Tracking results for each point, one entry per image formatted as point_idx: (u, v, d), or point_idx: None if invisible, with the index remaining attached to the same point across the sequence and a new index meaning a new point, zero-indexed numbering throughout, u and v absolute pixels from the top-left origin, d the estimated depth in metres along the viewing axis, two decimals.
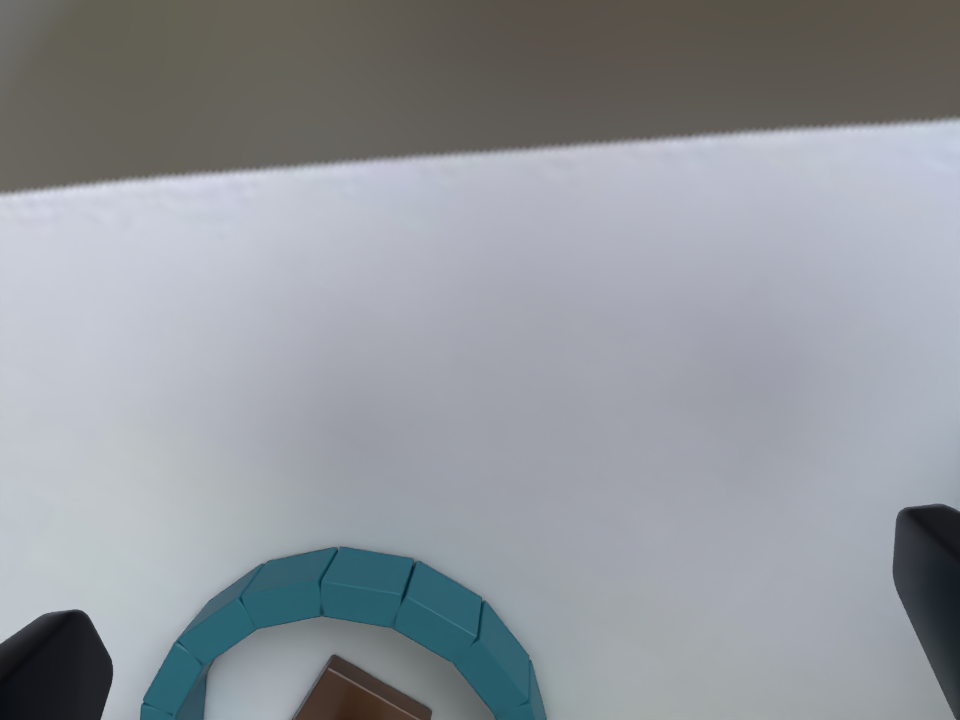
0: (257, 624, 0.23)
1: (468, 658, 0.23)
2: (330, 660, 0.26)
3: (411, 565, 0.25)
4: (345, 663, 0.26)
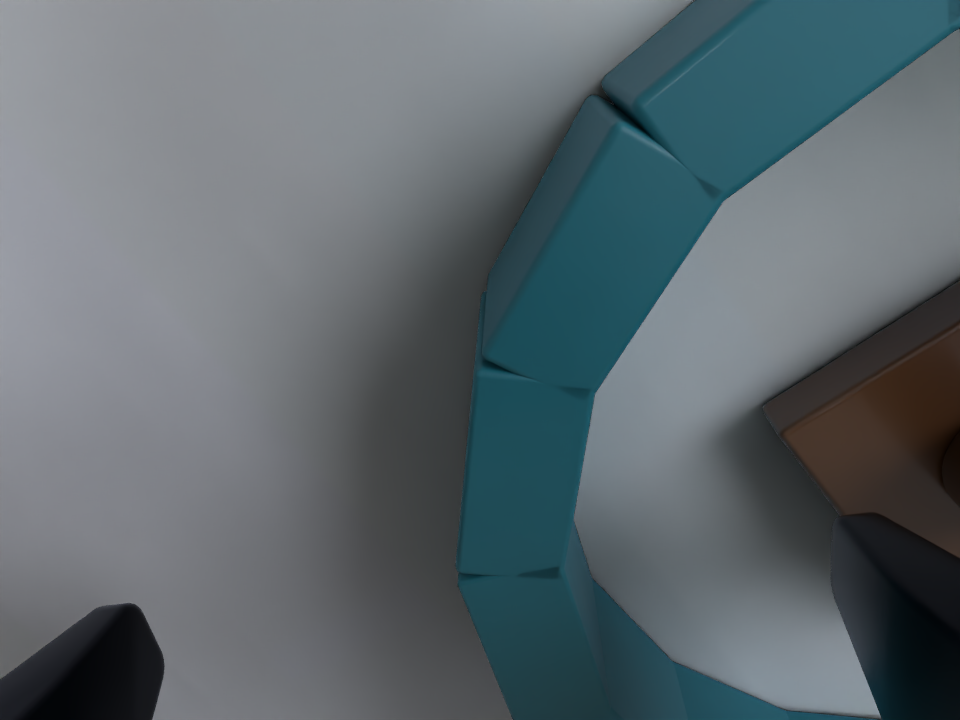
0: None
1: None
2: None
3: None
4: None
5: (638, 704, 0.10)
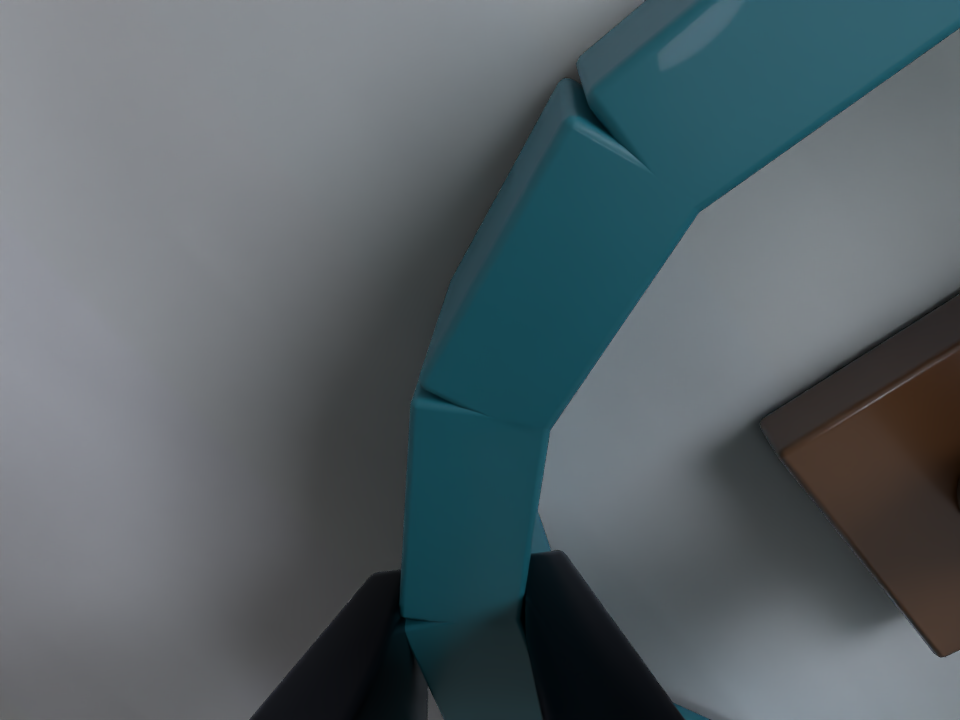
0: None
1: None
2: None
3: None
4: None
5: None
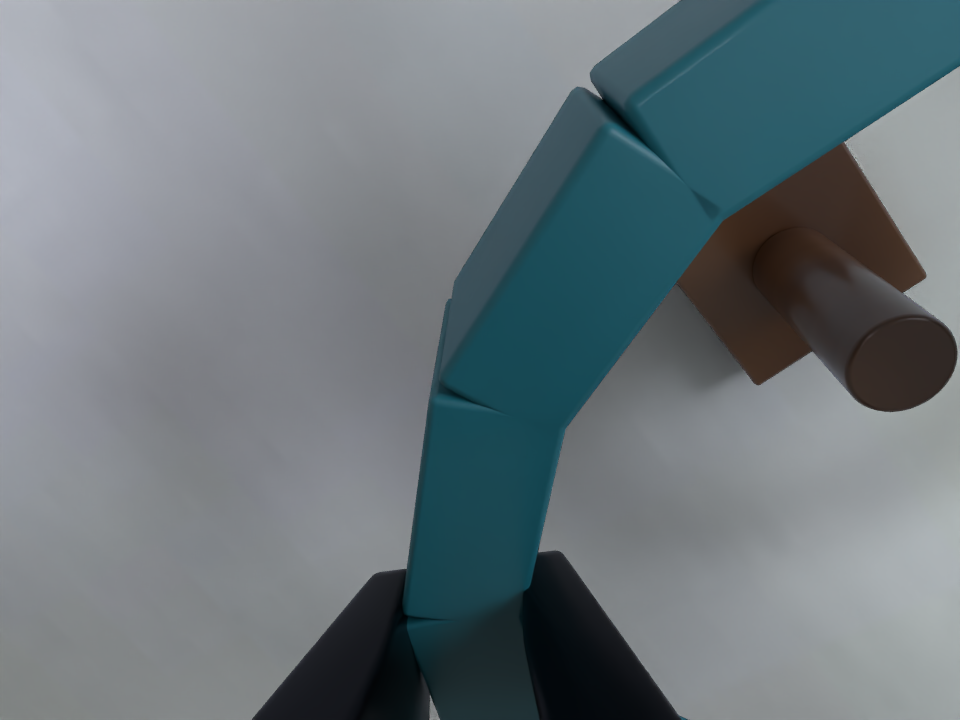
0: None
1: None
2: None
3: None
4: None
5: None
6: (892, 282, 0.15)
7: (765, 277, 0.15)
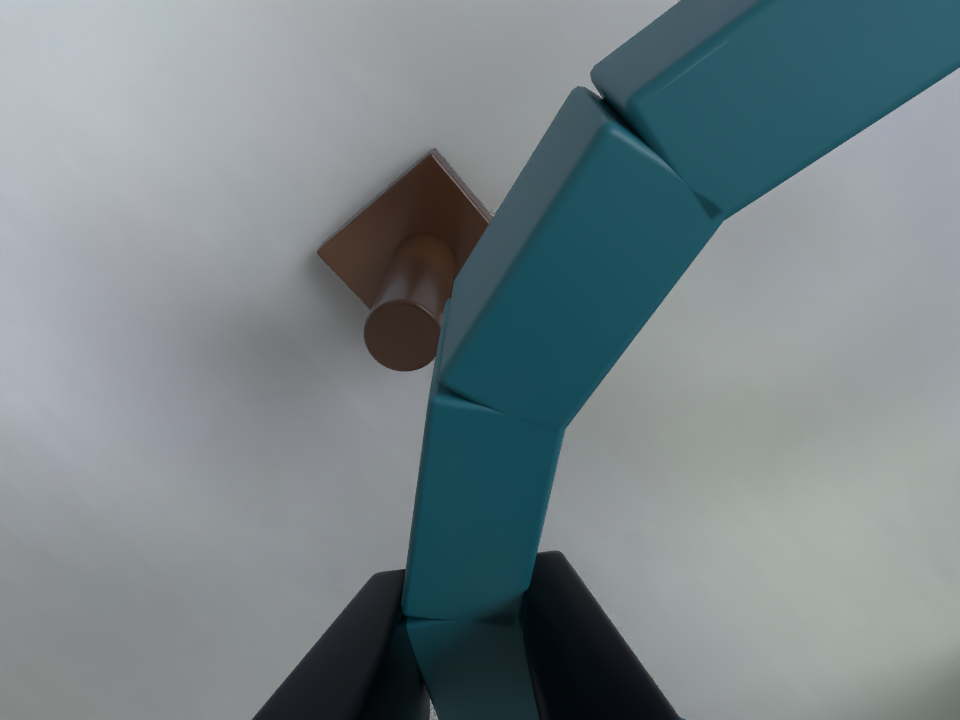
0: None
1: None
2: (432, 150, 0.19)
3: None
4: (448, 164, 0.19)
5: None
6: None
7: None
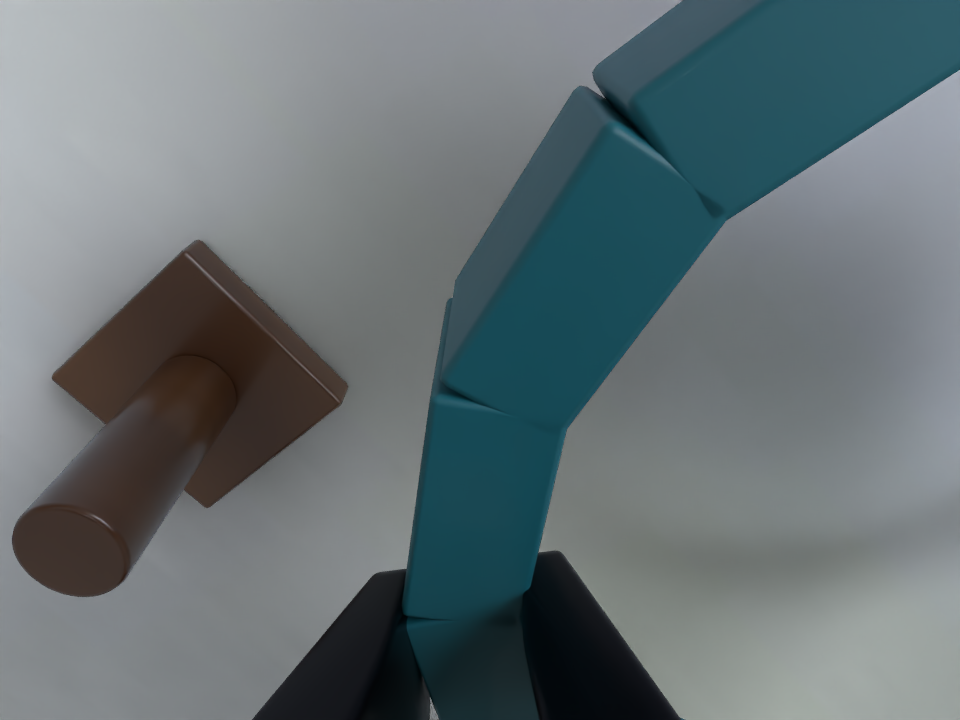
0: None
1: None
2: (192, 245, 0.14)
3: None
4: (219, 261, 0.14)
5: None
6: (306, 409, 0.15)
7: None
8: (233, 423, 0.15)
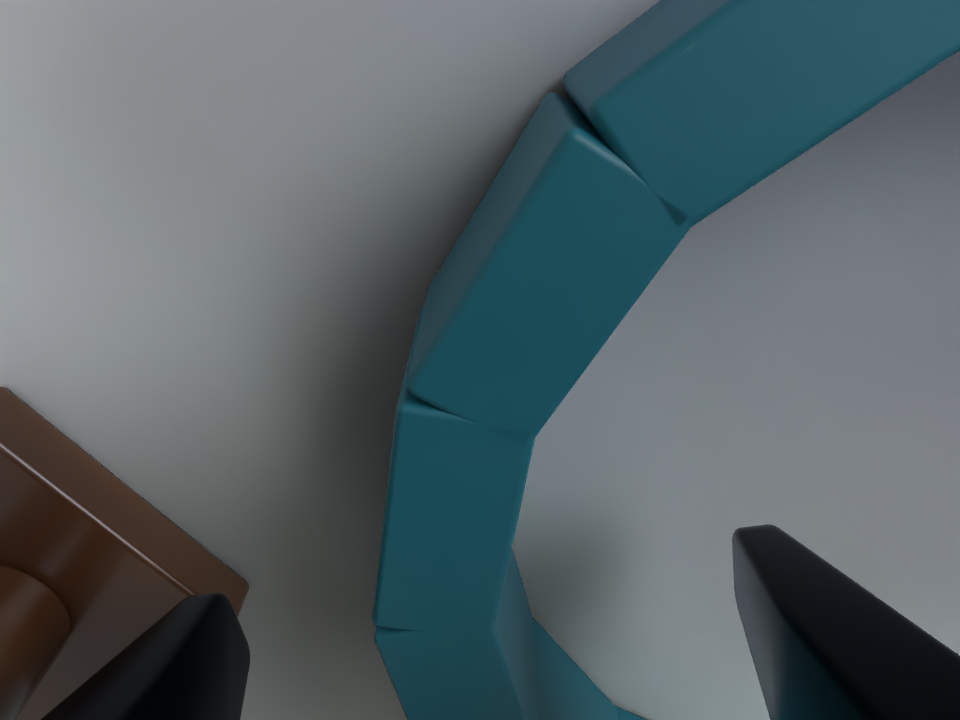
0: None
1: None
2: None
3: None
4: (35, 418, 0.09)
5: None
6: None
7: None
8: (70, 652, 0.10)
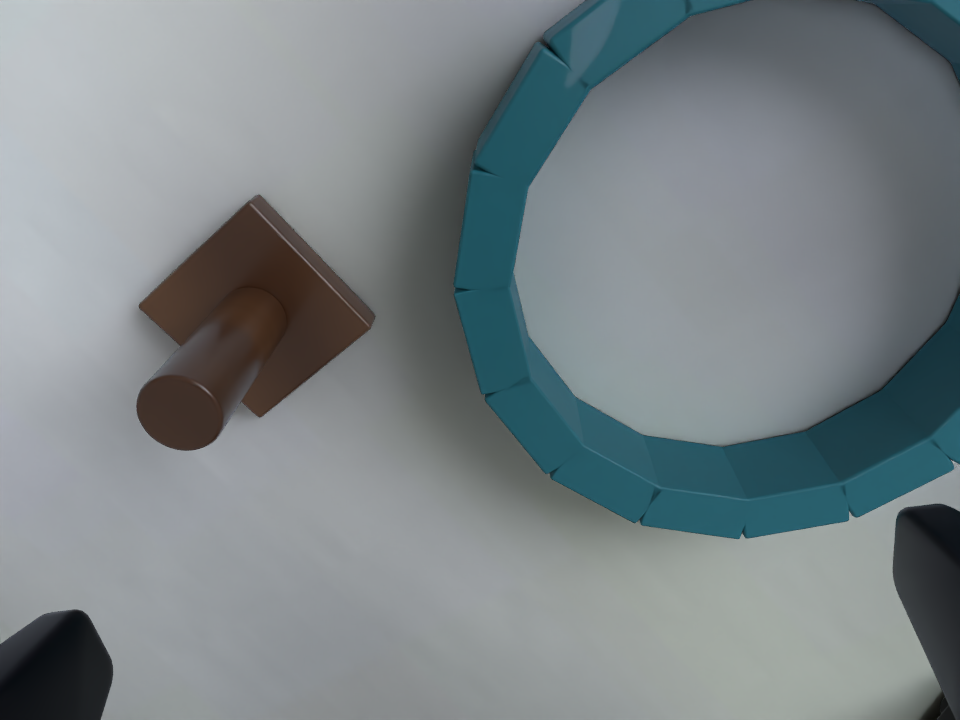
0: None
1: None
2: (254, 198, 0.17)
3: None
4: (274, 211, 0.18)
5: (548, 389, 0.18)
6: (342, 332, 0.18)
7: None
8: (283, 344, 0.18)
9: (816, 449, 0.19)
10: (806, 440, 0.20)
